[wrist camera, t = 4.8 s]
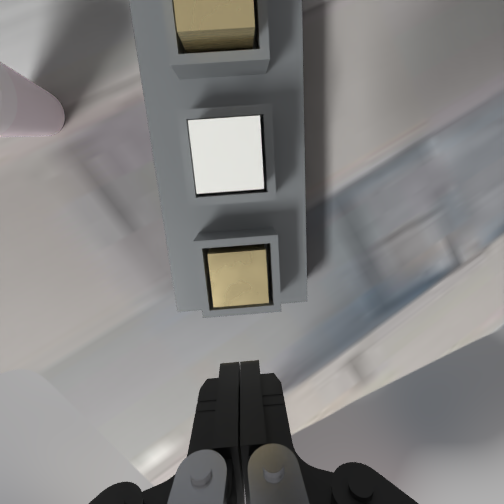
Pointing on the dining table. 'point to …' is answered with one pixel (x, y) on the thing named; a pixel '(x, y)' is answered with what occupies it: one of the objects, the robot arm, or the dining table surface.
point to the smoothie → (27, 107)
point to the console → (224, 106)
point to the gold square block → (238, 275)
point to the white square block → (227, 154)
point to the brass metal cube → (215, 25)
